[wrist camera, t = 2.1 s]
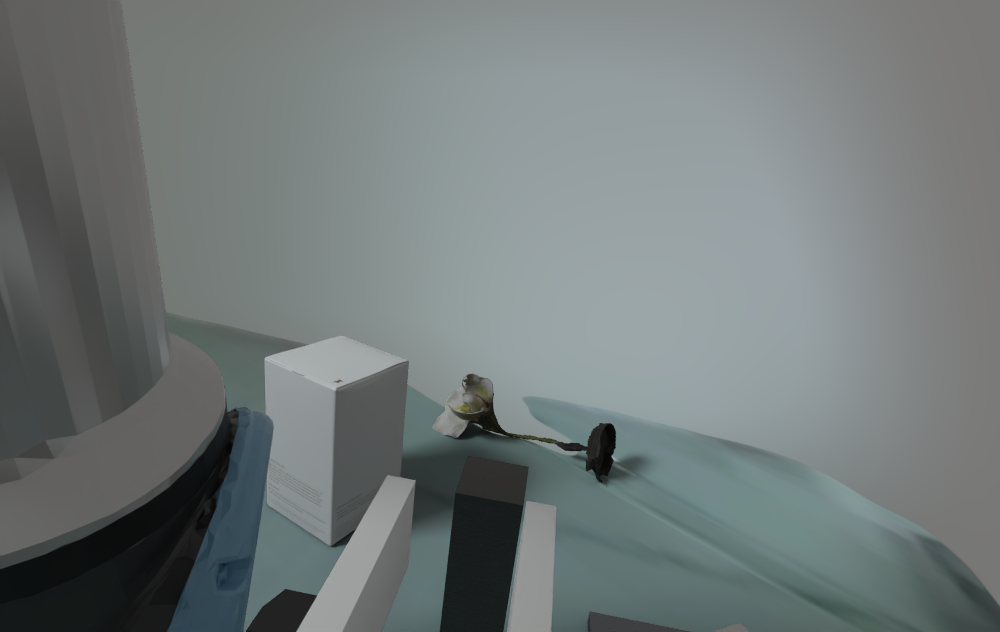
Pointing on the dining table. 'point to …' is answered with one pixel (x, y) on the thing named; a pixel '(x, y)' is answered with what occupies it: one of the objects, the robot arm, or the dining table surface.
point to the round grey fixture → (487, 547)
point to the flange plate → (622, 625)
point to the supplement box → (333, 432)
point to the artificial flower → (478, 408)
